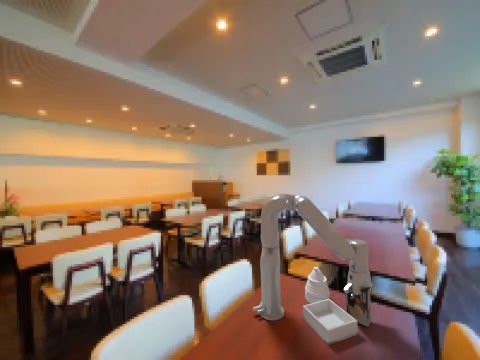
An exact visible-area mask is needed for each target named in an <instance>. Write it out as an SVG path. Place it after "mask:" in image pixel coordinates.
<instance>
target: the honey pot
mask: <svg viewBox="0 0 480 360" xmlns="http://www.w3.org/2000/svg"><path fill="white" fill-rule="evenodd" d="M312 268H313V269H312V270H311V272H310V273H309V274H308V276H307V280H306V284H305V287H304V290H305V291H304V297H305V300H306V301H307V302H309V304H311V303H315V302H318V301H322V300H326V299H330V298H331V297H330V296H331V295H330V293H331V291H330V288H329V286H328V283H327V281H328V278H327V277H326V276H325V275H323V272H322V271H321V270H320V269H319V267H318V266H314V267H312ZM330 300H331V299H330Z"/></svg>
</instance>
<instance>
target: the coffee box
mask: <svg viewBox="0 0 480 360" xmlns="http://www.w3.org/2000/svg"><path fill="white" fill-rule="evenodd" d="M347 284H348V281H347V282H346V285H345V287H346V286H347ZM350 290H352V288H351V289H350ZM350 294H351V295H352V292H351V293H350ZM345 297H346V298H345V299H346V302H345V303H346V305H345V306H346V311H345V312H347V313H348V314H349V315H351V316H352V317H353V318H354V319H356V320H357V324H361V325H362V326H365V327H368V328H369V326H370V324H371V320H372V319H371V316H372V315H371V310H372V309H371V294H370V287H368V288H364V289H361V294H360V295H355V296H354V307H351V306H350V305H349V304H348V296H347V295H346V294H345Z"/></svg>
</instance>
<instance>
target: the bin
mask: <svg viewBox="0 0 480 360" xmlns="http://www.w3.org/2000/svg"><path fill="white" fill-rule="evenodd" d="M302 318H303V320H305V322H306V323H307V324H308V325H309V326H310V327H311V328H312V330H313V331H314V332H315V333H316V334H317V335H318V336H319V337H320V338H321V339H322V340H323V342H325V344H326V345H327V346H331V345H334V344H335V343H338V342H341V341H344V340H347V339H349V338H352V337H354V336H357V335H358V333H359V332H358V331H359V330H358V329H359V327H358V322H357V320H356V319H354V318H353V317H352V316H351V315H349V314H348V313H347V311H345V310H344V309H343V308H341V307H340V306H339V305H338V304H336V302H334V301H333V300H332V299H326V300H322V301H318V302H315V303H309V304H305V305H302Z"/></svg>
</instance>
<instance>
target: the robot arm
mask: <svg viewBox="0 0 480 360" xmlns="http://www.w3.org/2000/svg"><path fill="white" fill-rule="evenodd" d="M288 210H289V211H296V212H297V214H299V216H300V217H301V218H302V219H303V220H304V221H305V222H306V223H307V224H308V226H309V227H310V228H311V229H312V230H313V231H314V232H315V234H316V235H317V236H319V238H321V240H323V241H324V243H325V244H326V245H327V246H328V247H329V249H330V250H331V251H332V252H333V253H334V254H335V255H336V257H338V259H340V260H341V261H345V262H349V266H348V268H349V269H348V275H347V282H348V284H347V283H346V285H347V286H346V285H345V287H344V288H343V292H344V294H345V296H346V295H347V296H348V304H349V305H350V306H351V307H354V296H355V295H360V294H361V289H364V288H368V287H370V295H371V291H372V290H373V286H374V283H373V282H372V277H371V272H370V270H369V250H370V249H369V244H368V242H366V240H363V239H356V238H355V239H349V238H344V236H343V235H342V234H341V233H340V232H339V230H337V229H336V228H335V226H334V225H333V223H332V222H331V221H330V220H329V219H328V218H327V217H326V216H325V215H324V214H323V212H322V211H321V210H320V209H319V208H318V207H317V206H316V205H315V203H314V202H312V200H311V199H310V198H308V197H307V196H305V195H298V194H291V193H289V194H288V193H280V192H279V193H276V194H274V195H273V196H272V198H270V199H268V200H267V201H266V203H265V204H264V205H263V207H262V208H261V213H260V241H261V254H260V255H261V256H260V260H259V261H260V263H259V266H260V267H259V268H260V282H261V284H260V286H261V301H260V302H259V304H258V305H256V306H252V311H253V312H257V314H259V315H260V316H261V318H263V319H265V320H268V321H279V320H281V319H282V318H283V317H284V316H285V309H284V307H283V306H282V299H281V297H282V296H281V255H280V231H279V215H281V214H282V213H283V212H285V211H288ZM351 288H352V290H350V289H351ZM351 292H352V295H351V294H350V293H351Z"/></svg>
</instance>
